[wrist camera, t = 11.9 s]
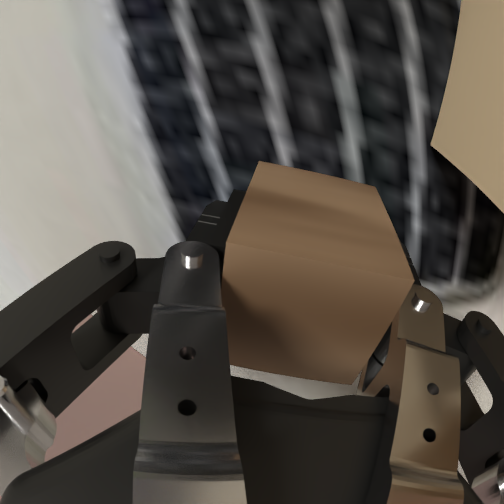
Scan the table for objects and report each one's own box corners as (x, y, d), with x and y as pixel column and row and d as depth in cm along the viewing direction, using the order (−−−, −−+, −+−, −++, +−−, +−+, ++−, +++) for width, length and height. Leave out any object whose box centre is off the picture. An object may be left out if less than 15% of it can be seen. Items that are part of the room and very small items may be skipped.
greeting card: (46, 282, 16) (-84, 493, 4) (151, 285, 14) (12, 598, 2) (120, 396, 22) (57, 558, 10) (209, 410, 21) (157, 604, 8)
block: (342, 277, 13) (351, 384, 8) (244, 258, 13) (214, 361, 9) (375, 187, 10) (415, 280, 6) (259, 161, 10) (226, 242, 6)
